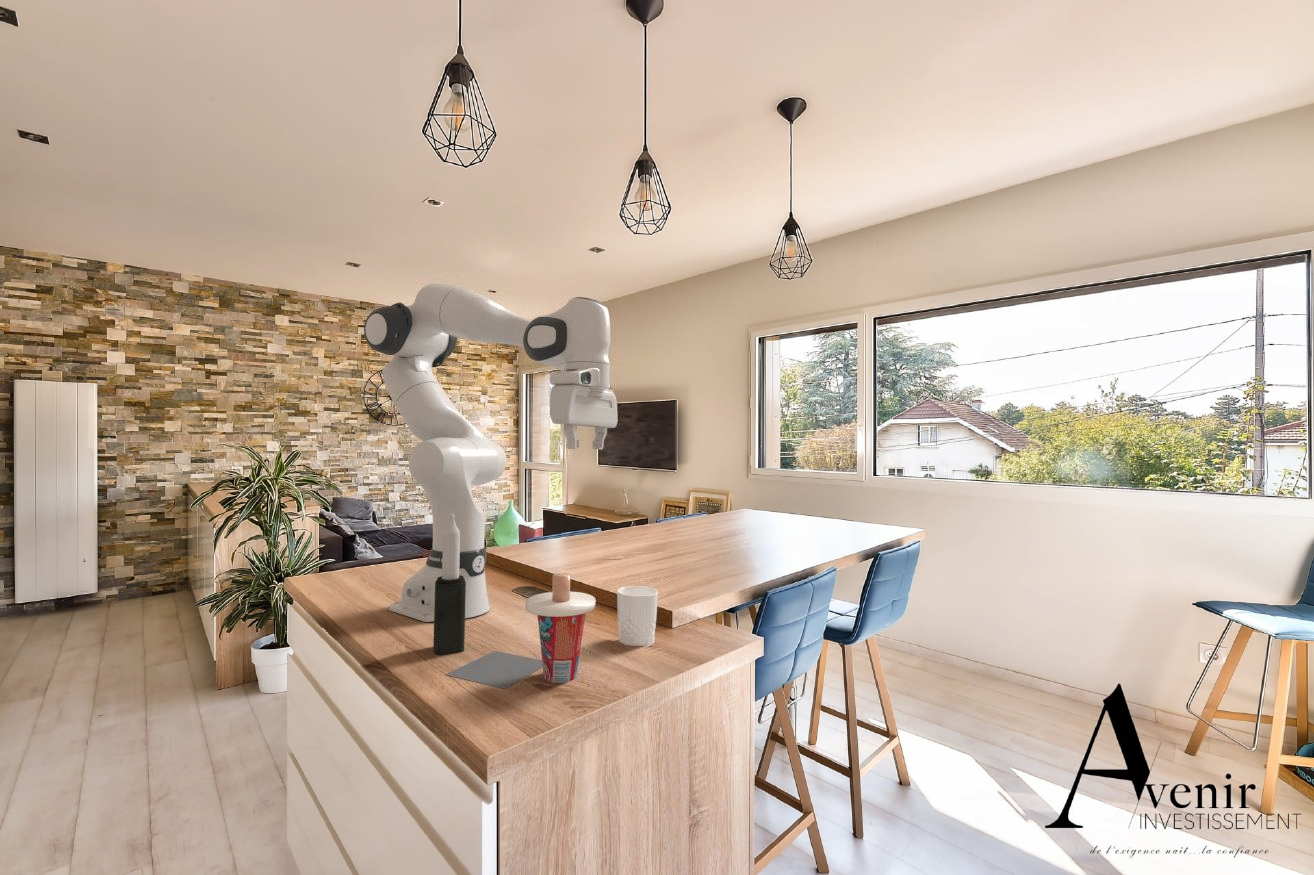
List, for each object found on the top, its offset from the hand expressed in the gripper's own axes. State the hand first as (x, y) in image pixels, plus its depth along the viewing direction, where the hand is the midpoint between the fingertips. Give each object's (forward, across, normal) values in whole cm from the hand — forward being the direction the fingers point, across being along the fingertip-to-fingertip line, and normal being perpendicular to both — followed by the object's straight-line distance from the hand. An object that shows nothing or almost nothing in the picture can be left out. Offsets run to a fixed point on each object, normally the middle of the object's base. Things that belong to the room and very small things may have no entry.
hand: (585, 449), depth 113 cm
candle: (+37, +18, -17) cm, 45 cm away
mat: (+37, +21, -3) cm, 43 cm away
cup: (+37, +20, +8) cm, 43 cm away
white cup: (+37, -2, +11) cm, 39 cm away
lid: (+25, +20, +8) cm, 33 cm away
